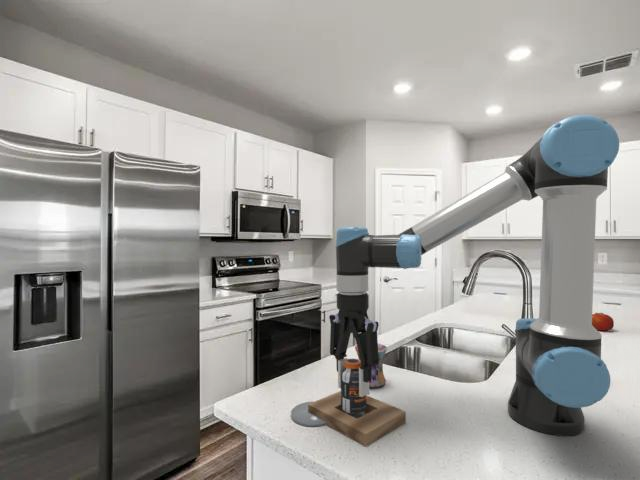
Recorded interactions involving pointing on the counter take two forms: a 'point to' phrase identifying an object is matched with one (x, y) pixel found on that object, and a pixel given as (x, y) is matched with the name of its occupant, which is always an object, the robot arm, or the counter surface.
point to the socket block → (363, 428)
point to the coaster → (306, 416)
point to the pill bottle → (351, 388)
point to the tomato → (602, 321)
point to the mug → (377, 368)
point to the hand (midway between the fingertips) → (353, 390)
